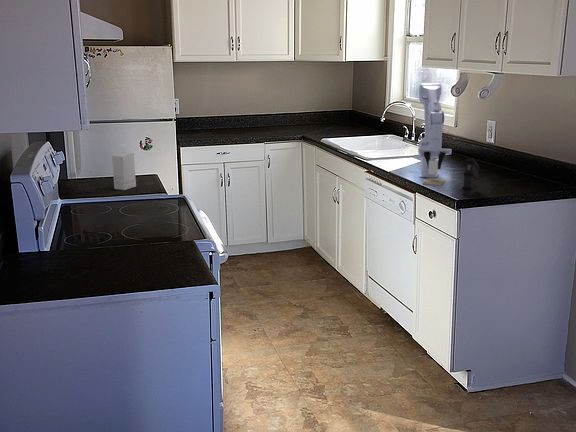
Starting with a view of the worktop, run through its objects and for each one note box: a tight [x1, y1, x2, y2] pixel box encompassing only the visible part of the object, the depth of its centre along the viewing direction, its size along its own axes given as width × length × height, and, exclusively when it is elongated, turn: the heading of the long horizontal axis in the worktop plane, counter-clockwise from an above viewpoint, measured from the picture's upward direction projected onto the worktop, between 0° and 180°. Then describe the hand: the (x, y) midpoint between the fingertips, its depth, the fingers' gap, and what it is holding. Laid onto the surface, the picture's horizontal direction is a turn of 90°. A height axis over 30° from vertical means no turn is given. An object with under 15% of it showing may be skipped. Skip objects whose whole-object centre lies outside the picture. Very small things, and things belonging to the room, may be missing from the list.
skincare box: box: [111, 152, 137, 191], centre depth 297 cm, size 8×7×16 cm
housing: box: [428, 158, 441, 174], centre depth 297 cm, size 6×4×7 cm, turn 159°
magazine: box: [461, 158, 481, 197], centre depth 278 cm, size 4×13×15 cm, turn 151°
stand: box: [422, 177, 445, 187], centre depth 299 cm, size 8×8×2 cm
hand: (434, 168), depth 298 cm, fingers closed on housing, 4 cm apart
